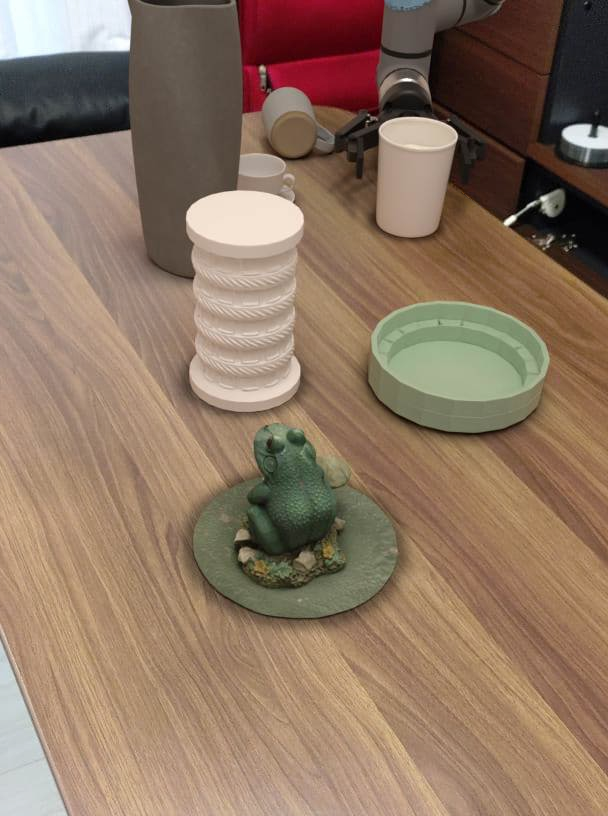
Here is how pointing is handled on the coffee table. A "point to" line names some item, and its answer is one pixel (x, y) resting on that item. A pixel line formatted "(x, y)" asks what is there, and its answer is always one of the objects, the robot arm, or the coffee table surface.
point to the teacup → (264, 175)
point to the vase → (183, 115)
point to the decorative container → (244, 299)
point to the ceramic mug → (293, 124)
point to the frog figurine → (295, 534)
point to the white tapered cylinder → (413, 174)
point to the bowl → (457, 366)
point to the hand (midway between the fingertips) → (413, 171)
